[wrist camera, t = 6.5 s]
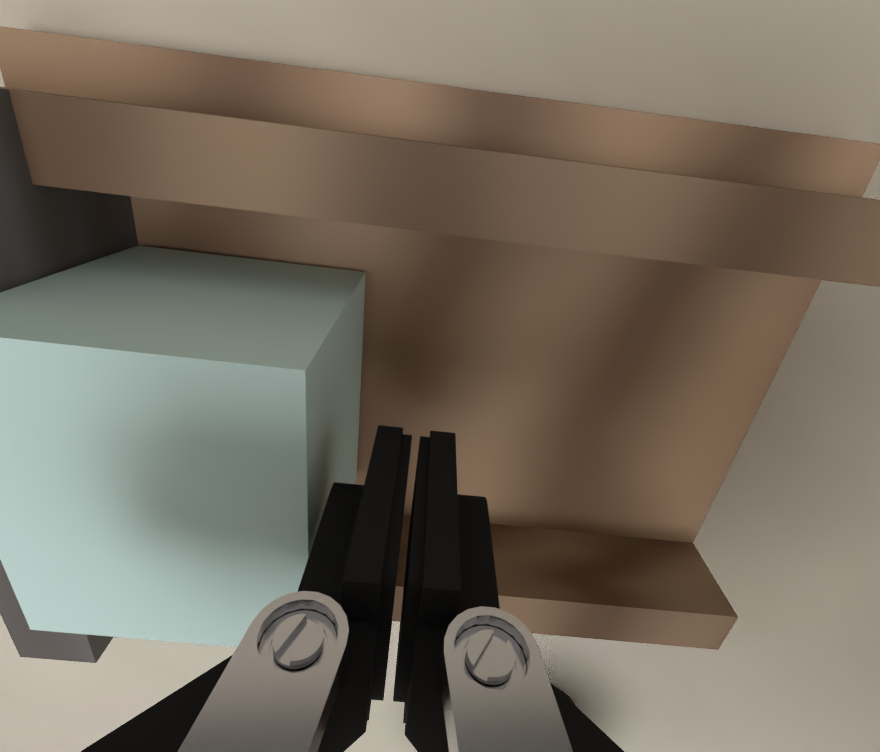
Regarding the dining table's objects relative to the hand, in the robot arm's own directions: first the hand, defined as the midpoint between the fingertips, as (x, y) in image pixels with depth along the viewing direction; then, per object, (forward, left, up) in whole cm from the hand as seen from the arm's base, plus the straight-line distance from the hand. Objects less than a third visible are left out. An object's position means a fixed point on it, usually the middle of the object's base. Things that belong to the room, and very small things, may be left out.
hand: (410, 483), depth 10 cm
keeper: (+5, 0, -4) cm, 6 cm away
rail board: (0, 0, -6) cm, 6 cm away
